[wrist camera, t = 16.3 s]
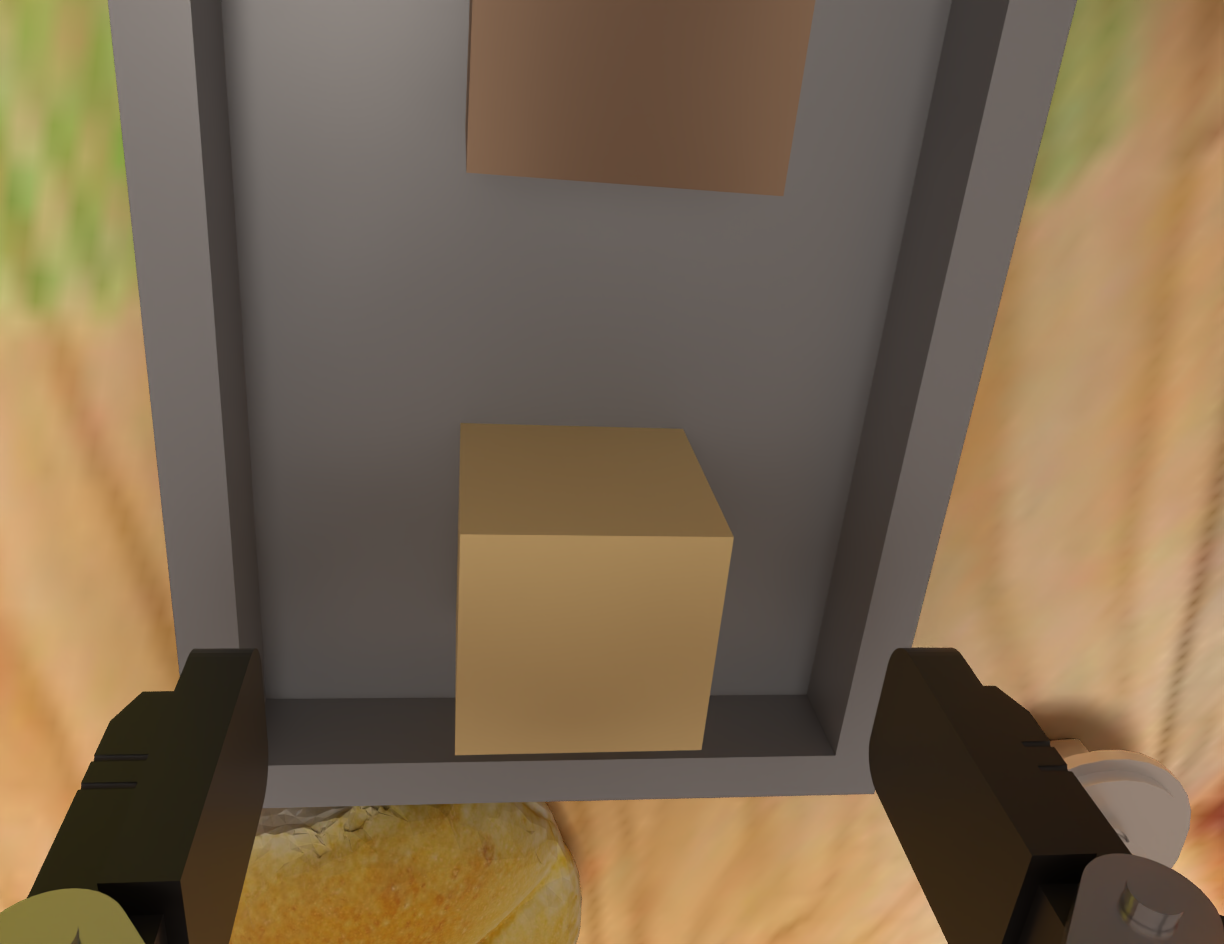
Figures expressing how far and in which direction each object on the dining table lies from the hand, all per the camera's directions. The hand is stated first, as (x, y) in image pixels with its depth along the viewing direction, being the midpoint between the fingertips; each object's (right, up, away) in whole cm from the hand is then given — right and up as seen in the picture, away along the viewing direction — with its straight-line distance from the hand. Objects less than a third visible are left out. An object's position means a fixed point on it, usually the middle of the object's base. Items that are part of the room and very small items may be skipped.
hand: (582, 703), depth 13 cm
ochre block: (0, +2, +6) cm, 7 cm away
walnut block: (0, +10, +2) cm, 10 cm away
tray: (0, +6, +5) cm, 8 cm away
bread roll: (-5, -6, +11) cm, 13 cm away
